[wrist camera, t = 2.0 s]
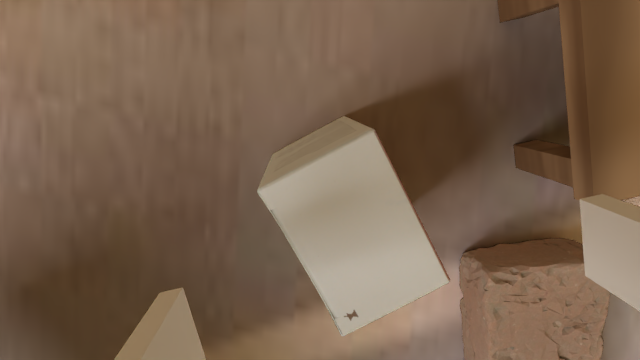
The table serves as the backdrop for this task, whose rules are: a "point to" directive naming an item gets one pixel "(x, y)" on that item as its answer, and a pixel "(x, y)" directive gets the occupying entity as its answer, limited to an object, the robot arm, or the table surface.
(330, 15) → the table surface
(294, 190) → the small box
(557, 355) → the brick
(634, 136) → the brown flat-topped fixture
